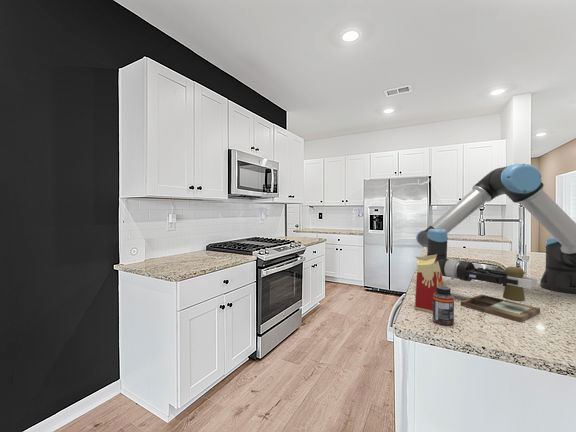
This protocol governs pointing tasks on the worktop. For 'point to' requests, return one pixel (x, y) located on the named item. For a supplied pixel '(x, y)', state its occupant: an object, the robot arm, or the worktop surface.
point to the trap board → (501, 307)
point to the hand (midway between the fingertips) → (533, 283)
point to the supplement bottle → (443, 306)
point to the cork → (514, 291)
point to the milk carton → (427, 282)
